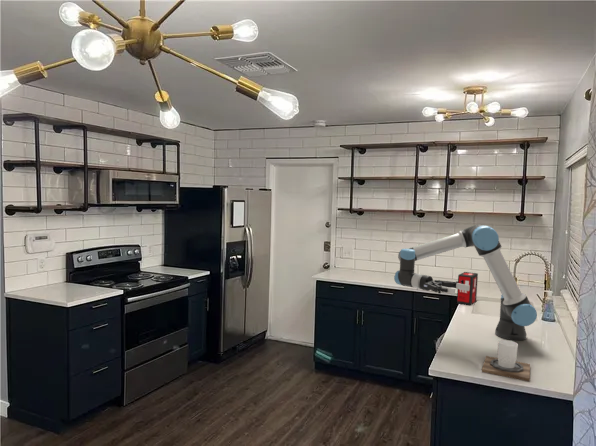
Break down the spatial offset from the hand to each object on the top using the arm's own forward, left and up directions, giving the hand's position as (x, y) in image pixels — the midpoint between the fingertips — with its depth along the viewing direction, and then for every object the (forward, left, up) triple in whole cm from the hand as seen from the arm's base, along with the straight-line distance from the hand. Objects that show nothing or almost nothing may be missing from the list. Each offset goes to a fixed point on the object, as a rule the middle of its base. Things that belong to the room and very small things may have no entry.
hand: (462, 289), depth 210 cm
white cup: (-1, +24, -29) cm, 37 cm away
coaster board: (-1, +24, -30) cm, 38 cm away
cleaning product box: (-88, -63, -30) cm, 112 cm away
